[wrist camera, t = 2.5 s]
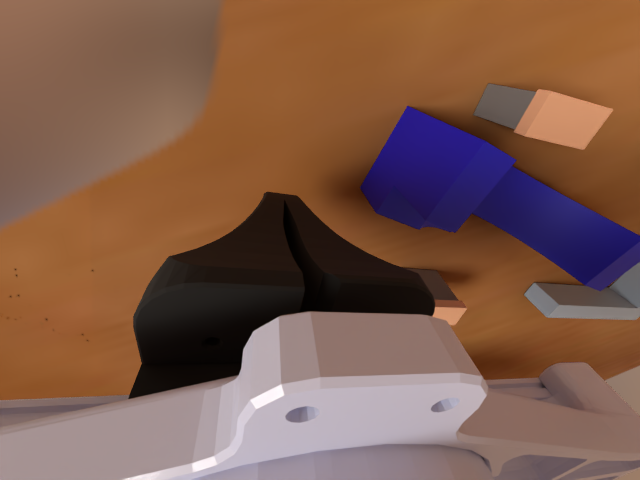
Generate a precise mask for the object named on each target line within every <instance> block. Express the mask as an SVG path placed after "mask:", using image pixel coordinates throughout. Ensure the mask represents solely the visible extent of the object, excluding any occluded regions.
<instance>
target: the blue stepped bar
mask: <svg viewBox="0 0 640 480" xmlns="http://www.w3.org/2000/svg"><path fill="white" fill-rule="evenodd" d="M515 162H516V159H514V158H512V157H511V156H509V155H507V154H506V153H504V152H503V151H501V150H499V149H498V148H496V147H494V146H493V145H491V144H489V143H488V142H486V141H484V140H482V139H480V138H477V137H475V136H473V135H471V134H469V133H466V132H464V131H462V130H460V129H457V128H455V127H453V126H451V125H449V124H446V123H444V122H442V121H440V120H437V119H435V118H433V117H431V116H429V115H426V114H424V113H422V112H420V111H417V110H415V109H413V108H411V107H409V106H407V108H406V110H405V111H404V113H403V115H402V116H401V118H400V120H399V122H398V123H397V125H396V127H395V128H394V130H393V132H392V134H391V135H390V137H389V139H388V140H387V142H386V144H385V146H384V147H383V149H382V151H381V152H380V154H379V156H378V158H377V159H376V161H375V163H374V164H373V166H372V168H371V170H370V171H369V173H368V175H367V176H366V178H365V180H364V182H363V183H362V185H361V187H360V189H361V190H362V192H363V193H364V195H365V196H366V198H367V200H368V201H369V203H370V204H371V206H372V207H373V209H374V211H375V212H376V213H377V214H380V215H382V216H385V217H387V218H390V219H393V220H395V221H398V222H400V223H403V224H406V225H408V226H411V227H413V228H416V229H421V228H422V227H435V228H439V229H443V230H446V231H449V232H455V233H456V231H457V230H458V229H459V228H460V227H461V225H462V224H463V223H464V222H465V221H466V220H467V218H468V217H469V216H470V215H471V214H474V215H476V216H478V217H480V218H482V219H484V220H486V221H488V222H490V223H492V224H493V225H495V226H497V227H499V228H500V229H502V230H504V231H506V232H507V233H509V234H511V235H512V236H514V237H515V238H517V239H519V240H520V241H522V242H523V243H525V244H527V245H528V246H530V247H531V248H533V249H534V250H536V251H537V252H539V253H540V254H542V255H543V256H545V257H546V258H548V259H549V260H551V261H552V262H554V263H555V264H556V265H558V266H559V267H561V268H562V269H563V270H565V271H566V272H568V273H569V274H570V275H572V276H573V277H574V278H576V279H577V280H578V281H580V282H581V283H582V284H584V285H586V286H588V287H591V288H593V289H595V290H598V291H602V290H603V289H604V288H606V287H607V286H608V285H610V284H611V283H612V282H613V281H615V280H616V279H617V278H619V277H620V276H621V275H623V274H624V273H625V272H627V271H628V270H629V269H631V268H632V267H633V266H635V265H636V264H637V263H639V262H640V236H639V235H637V234H635V233H634V232H632V231H630V230H628V229H626V228H624V227H622V226H620V225H618V224H616V223H615V222H613V221H611V220H609V219H607V218H605V217H603V216H601V215H599V214H598V213H596V212H594V211H592V210H590V209H588V208H586V207H584V206H583V205H581V204H579V203H577V202H575V201H573V200H572V199H570V198H568V197H566V196H564V195H562V194H561V193H559V192H557V191H555V190H553V189H551V188H550V187H548V186H546V185H544V184H542V183H541V182H539V181H537V180H535V179H534V178H532V177H530V176H528V175H527V174H525V173H523V172H521V171H520V170H518V169H516V168H514V167H513V166H512V165H513V164H514V163H515Z"/></svg>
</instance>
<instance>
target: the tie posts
mask: <svg viewBox="0 0 640 480" xmlns="http://www.w3.org/2000/svg"><path fill="white" fill-rule="evenodd" d="M612 111H613V109H610V108H607V107H603V106H600V105H597V104H593V103H590V102H586V101H583V100H580V99H576V98H573V97H569V96H566V95H563V94H559V93H556V92H553V91H547V90H541V89H538V91H537V92H533V91H528V90H522V89H517V88H511V87H506V86H500V85H495V84H489V83H488V85H487V87H486V89H485V91H484V93H483V95H482V98H481V100H480V102H479V104H478V106H477V108H476V110H475V112H474V114H473V115H475V116H478V117H481V118H484V119H486V120H489V121H492V122H495V123H498V124H501V125H504V126H507V127H509V128H512V129H515V130H514V132H515V133H517V134H520V135H523V136H526V137H531V138H535V139H539V140H543V141H548V142H552V143H556V144H560V145H565V146H569V147H573V148H578V149H582V150H584V149H585V147H586V146H587V145H588V143H589V142H590V141H591V139H592V138H593V137H594V135H595V134H596V133H597V131H598V130H599V128H600V127H601V126H602V124H603V123H604V122H605V120H606V119H607V118H608V116H609V115H610V113H611V112H612ZM405 269H408V270H410V271H413V272H416V273H418V274H419V275H420V276H421V278H422V279H423V281H424V283H425V284H426V286H427V287H428V289H429V290H430V292H431V293H432V295H433V297H434V300H435V312H434V314H433V316H432V317H435V318H439V319H443V320H446V321H447V322H448V324H449V325H455V324H456V323H457V322H458V320H459V319H460V317H461V316H462V315H463V313H464V312H465V311H466V309H467V307H466V306H465V304H464V303H463V302H462V301H459V300H458V299H457V298H456V296H455V295H454V293H453V292H452V291H451V289H450V288H449V287H448V285H447V284H446V283H445V281H444V280H443V279H442V277H441V276H440V275H439V273H438V272H437V271H436V270H424V269H410V268H405Z"/></svg>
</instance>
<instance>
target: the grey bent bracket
mask: <svg viewBox="0 0 640 480" xmlns="http://www.w3.org/2000/svg"><path fill="white" fill-rule="evenodd" d="M524 295H525V296H526V297H527V298H528V299H529V300H530V301H531V302H532V303H533V304H534V305H535V306H536V307H537V308H538V309H539V310H540V311H541V312H542V313H543V314H544V315H545V316H546V317H549V318H584V319H620V320H636V319H637V318H639V317H640V262H639V263H637V264H636V265H635V266H633V267H632V268H631V269H629V270H628V271H627V272H625V273H624V274H623V275H622V276H621V277H620V278H619V279H618V280H617V281H615V282H614V283H613V284H612V285H611V286H610V287H609V288H608V287H606V288H604V289H603V290H602V291H598V290H595V289H593V288H591V287H588V286H579V285H564V284H549V283H533V284H532V286H531V287H530V288H529V289H528V290H527V291H526V293H525V294H524Z"/></svg>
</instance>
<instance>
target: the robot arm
mask: <svg viewBox="0 0 640 480" xmlns="http://www.w3.org/2000/svg"><path fill="white" fill-rule="evenodd" d="M434 312H435V300H434V297H433V295H432V293H431V292H430V290H429V289H428V287H427V286H426V284H425V283H424V281H423V279H422V278H421V276H420V275H419V274H418V273H416V272H413V271H410V270H408V269H405V268H402V267H399V266H396V265H393V264H391V263H388V262H386V261H384V260H381V259H379V258H377V257H375V256H373V255H371V254H369V253H367V252H365V251H363V250H361V249H359V248H358V247H356V246H354V245H352V244H351V243H349V242H348V241H346V240H345V239H343V238H342V237H340V236H339V235H338V234H336V233H335V232H334V231H332V230H331V229H330V228H329V227H328V226H327V225H325V224H324V223H323V222H322V221H321V220H320V219H319V218H318V217H317V216H316V215H315V214H314V213H313V212H312V211H311V210H310V209H309V208H308V207H307V206H306V205H305V204H304V202H303V201H302V200H301V199H300V198H299V197H298V196H296V195H288V194H280V193H273V192H266V193H265V194H264V196H263V199H262V200H261V202H260V204H259V205H258V206H257V208H256V209H255V210H254V211H253V213H252V214H251V215H250V216H249V217H248V218H247V219H246V220H245V221H244V222H243V223H242V224H241V225H239V226H238V227H237V228H236V229H234V230H233V231H232V232H230V233H228V234H227V235H225V236H223V237H222V238H220V239H218V240H216V241H214V242H212V243H209V244H207V245H204V246H202V247H199V248H197V249H194V250H190V251H187V252H183V253H180V254H177V255H173V256H169V257H168V258H167V259H166V261H165V262H164V263H163V265H162V266H161V267H160V269H159V270H158V271H157V273H156V274H155V276H154V277H153V278H152V280H151V281H150V283H149V285H148V287H147V288H146V290H145V292H144V295H143V297H142V299H141V301H140V303H139V305H138V307H137V310H136V312H135V314H134V316H133V328H134V332H135V336H136V340H137V345H138V349H139V353H140V358H141V362H142V365H141V367H140V370H139V372H138V375H137V377H136V380H135V383H134V385H133V388H132V390H131V393H130V395H118V396H94V397H71V398H47V399H23V400H0V480H615V479H618V478H620V477H622V476H624V475H627V474H629V473H631V472H634V471H636V470H638V469H640V416H639V415H638V414H637V413H636V412H635V411H634V410H633V409H632V408H631V407H630V406H629V405H628V404H627V403H626V402H625V401H624V400H623V399H622V398H621V397H620V396H619V395H618V394H617V393H616V392H615V391H614V390H613V389H612V388H611V387H610V386H609V385H608V384H607V383H606V382H605V381H604V380H603V379H602V378H601V377H600V376H599V375H598V374H597V373H596V372H595V371H594V370H593V369H592V368H591V367H590V366H589V365H588V364H587V363H585V362H564V363H556V364H554V365H551V366H550V367H548V368H547V369H546V370H544V371H543V372H542V373H541V374H540V376H539V378H519V379H496V380H484V378H483V377H482V375H481V374H480V372H479V370H478V369H477V367H476V366H475V364H474V363H473V361H472V360H471V358H470V356H469V355H468V353H467V352H466V350H465V349H464V347H463V346H462V344H461V343H460V341H459V339H458V338H457V336H456V335H455V333H454V332H453V330H452V329H451V327H450V325H449V324H448V322H447V321H446V320H443V319H439V318H435V317H432V316H433V314H434Z"/></svg>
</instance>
